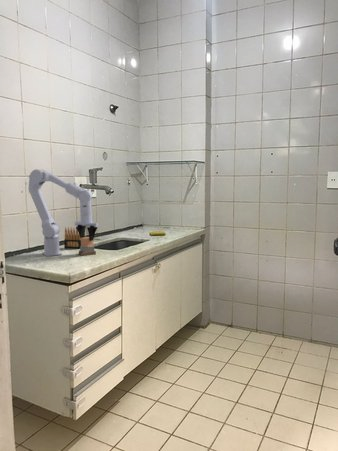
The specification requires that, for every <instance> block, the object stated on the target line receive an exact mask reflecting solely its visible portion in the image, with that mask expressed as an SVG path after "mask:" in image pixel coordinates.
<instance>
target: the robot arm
mask: <svg viewBox="0 0 338 451" xmlns="http://www.w3.org/2000/svg"><path fill="white" fill-rule="evenodd" d="M28 179H29V180H28V191H29V194H30V196H31V199H32V202H33V204H34V206H35V209H36V211H37V213H38V216H39V218H40V219H41V229H42V230H41V232H42V235H43V238H44V241H43V248H44V251H43V252H42V254H43V255H44V256H45V257H51V256H61V255H62V254H63V253H62V252H61V251H60V236H59V234H60V232H61V231H60V230H61V229H60V226H59V225H58V224H57V223H56V221H55V219H54V218H53V217H52V215H51V213H50V210H49V207H48V205H47V203H46V201H45V198H44V196H43V193H42V191H41V189H42V187H43V185H44V183H46V182H50V183H53V184H55V185H57V186H59V187H61V188H63V189H65V192H66V193H67V194H69V195H71V196H73V197H75V198H77V199H78V200H79V204H80V205H79V211H80V221H74V227H75V226H76V227H75V230H76V229H77V230H78V235H80V238H84V237H86V229H87V231H88V237H89V240H90V241H92V240H93V241H94V239H95V235H96V233H97V230H98V228H99V225H100V224H99V222H94V221H93V216H92V215H93V213H92V212H93V210H92V198H93V194H92V192H91V191H90V190H88V189H85V187H82V186H80V185H77V183H76V182H67V181H66V180H64V179H62V178H60V177H59V176H57V175H55V174H54V173H52V172H49V171H47V170H45V169H33V170H31V172H30V174H29V175H28Z"/></svg>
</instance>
